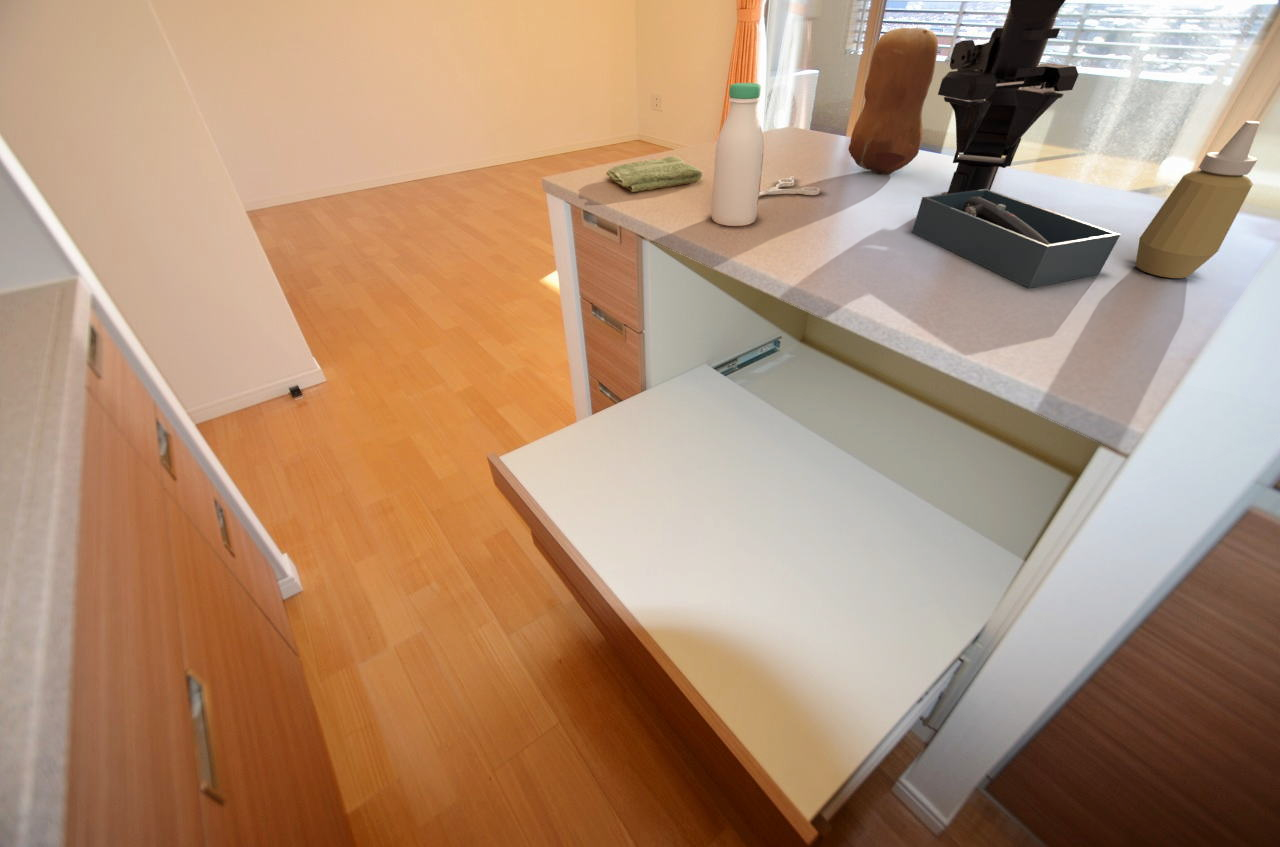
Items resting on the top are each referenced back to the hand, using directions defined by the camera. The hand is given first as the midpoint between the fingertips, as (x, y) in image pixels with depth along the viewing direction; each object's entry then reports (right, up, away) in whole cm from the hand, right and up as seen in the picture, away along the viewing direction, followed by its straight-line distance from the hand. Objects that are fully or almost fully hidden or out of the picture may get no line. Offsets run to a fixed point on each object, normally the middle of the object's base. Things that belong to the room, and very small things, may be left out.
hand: (984, 149), depth 80 cm
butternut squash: (-1, +13, +35) cm, 37 cm away
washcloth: (-49, +10, +32) cm, 59 cm away
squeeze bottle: (+20, -20, -7) cm, 29 cm away
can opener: (+1, -15, -1) cm, 15 cm away
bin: (+1, -16, -1) cm, 16 cm away
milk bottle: (-35, -6, +13) cm, 38 cm away
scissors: (-26, +3, +24) cm, 36 cm away
